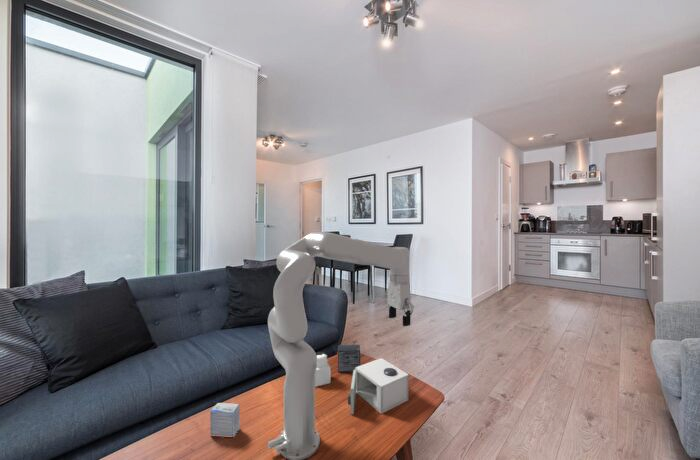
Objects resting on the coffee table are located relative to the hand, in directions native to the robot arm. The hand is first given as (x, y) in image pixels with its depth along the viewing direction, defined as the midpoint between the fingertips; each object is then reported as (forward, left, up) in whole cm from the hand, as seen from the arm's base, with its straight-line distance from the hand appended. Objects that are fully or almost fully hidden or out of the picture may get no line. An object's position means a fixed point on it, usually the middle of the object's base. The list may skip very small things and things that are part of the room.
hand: (399, 321), depth 110 cm
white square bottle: (-21, +27, -30) cm, 45 cm away
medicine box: (-61, +18, -30) cm, 70 cm away
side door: (-18, +7, -29) cm, 35 cm away
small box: (-5, +28, -30) cm, 41 cm away
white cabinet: (-6, +4, -30) cm, 31 cm away
